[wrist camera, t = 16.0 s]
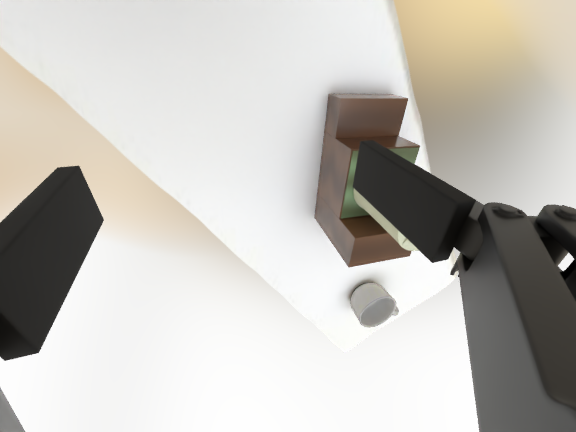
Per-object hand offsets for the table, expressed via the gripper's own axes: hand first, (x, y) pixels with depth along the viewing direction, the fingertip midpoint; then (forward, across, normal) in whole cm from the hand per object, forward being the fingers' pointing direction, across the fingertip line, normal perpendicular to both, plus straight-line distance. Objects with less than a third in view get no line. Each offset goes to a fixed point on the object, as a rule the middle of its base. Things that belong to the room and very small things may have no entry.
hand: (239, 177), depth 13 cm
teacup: (+30, +36, -54) cm, 72 cm away
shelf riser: (+31, +24, -14) cm, 41 cm away
